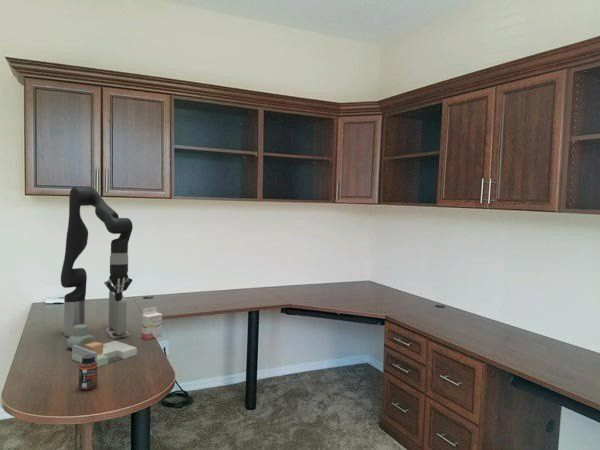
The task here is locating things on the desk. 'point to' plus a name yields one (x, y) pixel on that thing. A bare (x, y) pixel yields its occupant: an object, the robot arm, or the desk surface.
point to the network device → (117, 316)
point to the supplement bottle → (88, 373)
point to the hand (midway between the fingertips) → (118, 300)
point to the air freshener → (80, 336)
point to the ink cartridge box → (151, 324)
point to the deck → (105, 353)
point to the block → (95, 347)
